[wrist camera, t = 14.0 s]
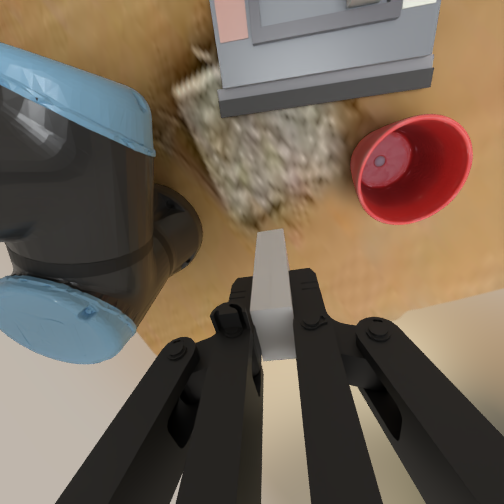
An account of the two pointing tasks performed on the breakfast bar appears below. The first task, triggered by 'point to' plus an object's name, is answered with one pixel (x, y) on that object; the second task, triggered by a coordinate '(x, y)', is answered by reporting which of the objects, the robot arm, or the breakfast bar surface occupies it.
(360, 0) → the lever
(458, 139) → the flower pot
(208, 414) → the robot arm
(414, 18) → the breaker panel
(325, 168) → the breakfast bar surface
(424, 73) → the long gray bar
